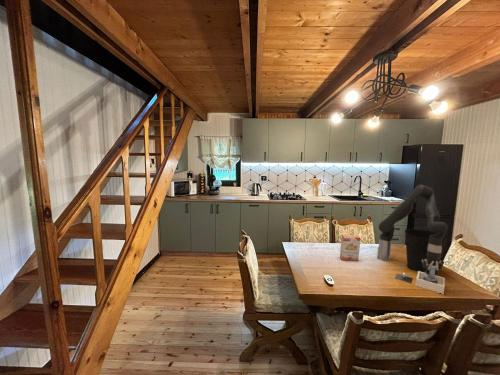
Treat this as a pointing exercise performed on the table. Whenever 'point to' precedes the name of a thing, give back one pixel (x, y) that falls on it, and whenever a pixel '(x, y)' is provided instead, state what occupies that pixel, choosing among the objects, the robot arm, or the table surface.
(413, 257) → the bucket
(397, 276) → the stud mount
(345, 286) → the table surface
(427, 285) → the parts tray
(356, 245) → the cracker box
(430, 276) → the knob
